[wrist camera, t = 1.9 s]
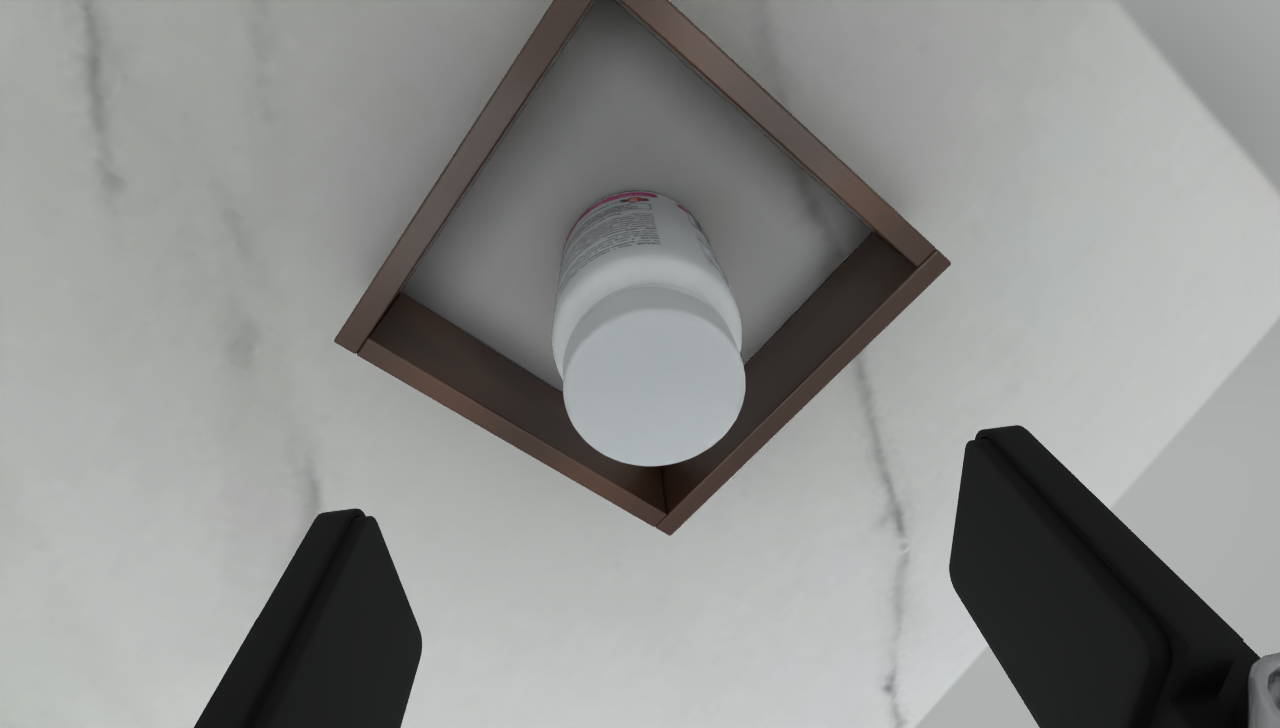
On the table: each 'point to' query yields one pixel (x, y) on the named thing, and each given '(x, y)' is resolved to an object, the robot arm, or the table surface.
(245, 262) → the table surface
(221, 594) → the table surface
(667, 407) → the pill bottle
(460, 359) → the square wooden frame
